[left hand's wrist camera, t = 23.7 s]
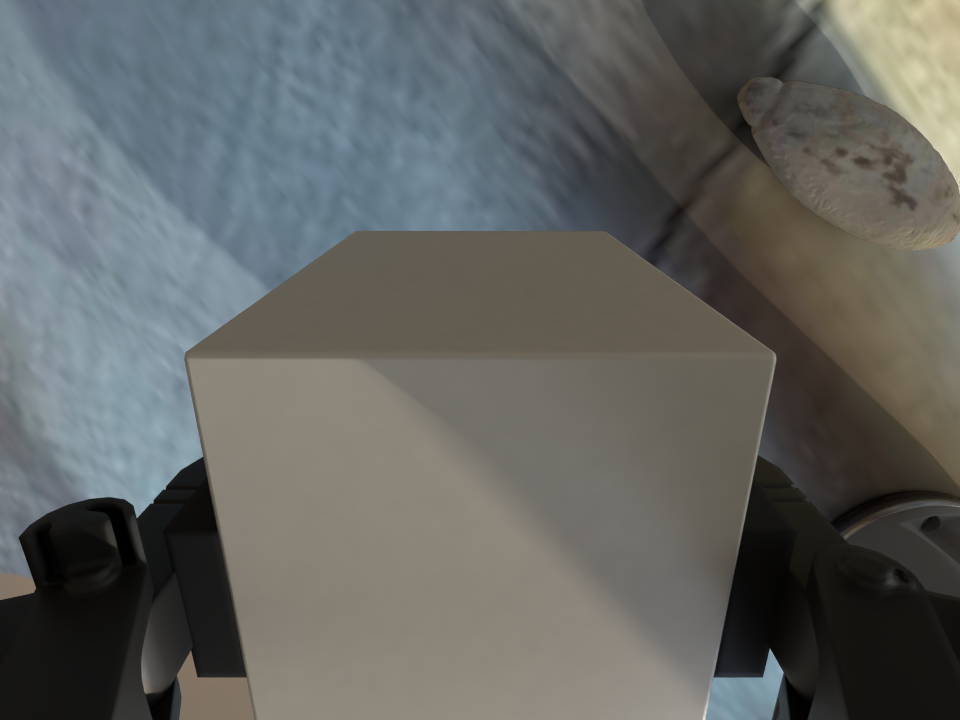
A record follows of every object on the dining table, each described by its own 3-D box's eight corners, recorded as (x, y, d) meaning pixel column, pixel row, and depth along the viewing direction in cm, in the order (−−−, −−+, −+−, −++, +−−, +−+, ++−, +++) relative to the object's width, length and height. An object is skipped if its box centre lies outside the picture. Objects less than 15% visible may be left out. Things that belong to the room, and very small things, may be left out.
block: (354, 230, 16) (179, 353, 7) (606, 230, 16) (781, 353, 7) (372, 467, 19) (266, 787, 10) (588, 468, 19) (694, 789, 10)
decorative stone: (764, 39, 32) (796, 27, 28) (968, 181, 34) (1018, 185, 31) (697, 143, 33) (720, 143, 30) (895, 270, 36) (936, 282, 33)
